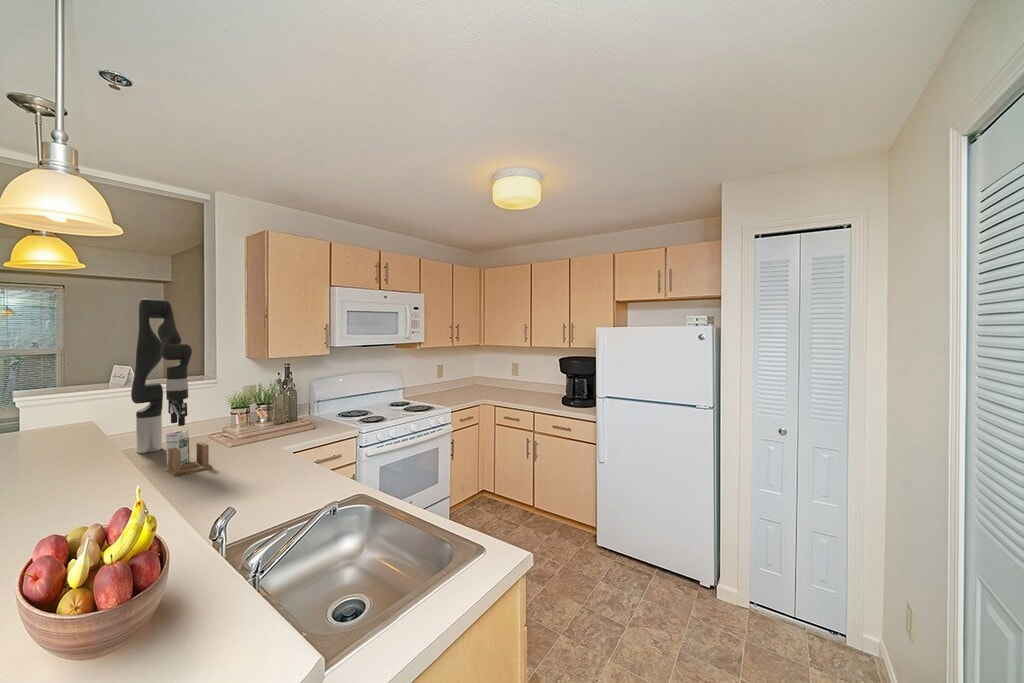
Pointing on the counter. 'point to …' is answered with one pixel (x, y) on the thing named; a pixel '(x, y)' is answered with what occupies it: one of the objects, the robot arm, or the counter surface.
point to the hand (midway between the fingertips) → (177, 424)
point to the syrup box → (179, 444)
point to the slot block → (178, 469)
